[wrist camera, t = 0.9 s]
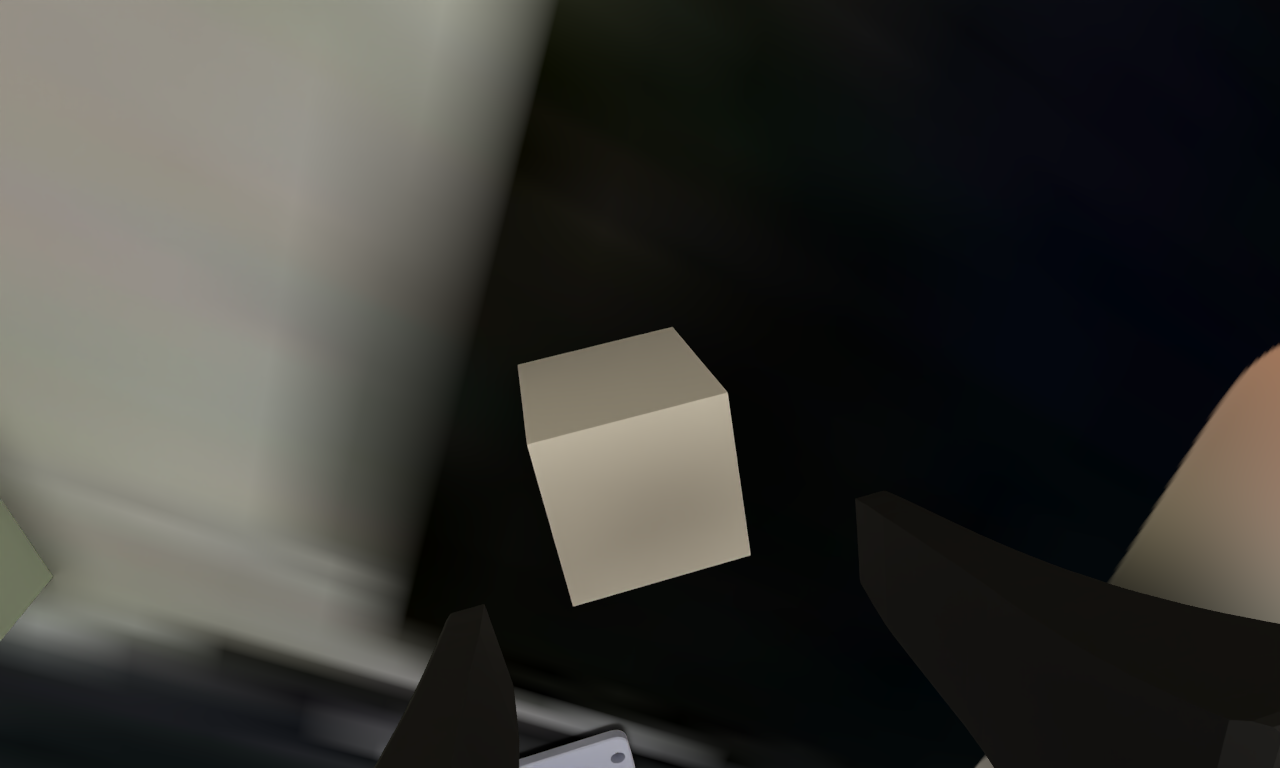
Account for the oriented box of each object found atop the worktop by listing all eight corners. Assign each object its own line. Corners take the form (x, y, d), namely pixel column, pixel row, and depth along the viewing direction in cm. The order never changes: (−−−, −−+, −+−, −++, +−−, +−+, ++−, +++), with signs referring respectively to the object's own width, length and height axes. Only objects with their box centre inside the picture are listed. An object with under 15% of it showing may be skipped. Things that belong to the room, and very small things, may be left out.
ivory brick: (694, 459, 21) (751, 555, 17) (554, 497, 21) (573, 606, 16) (671, 326, 20) (727, 392, 15) (517, 364, 19) (526, 444, 14)
